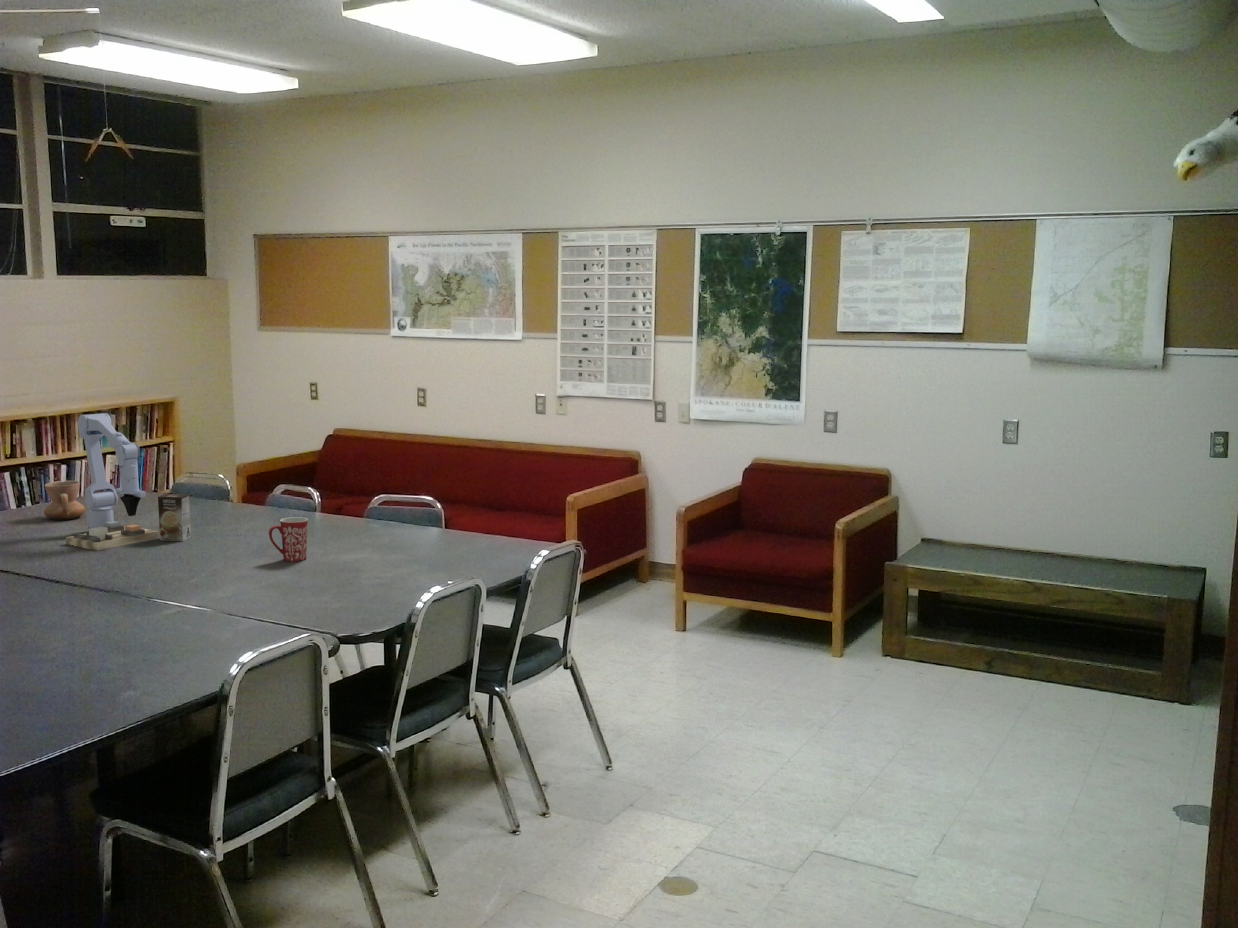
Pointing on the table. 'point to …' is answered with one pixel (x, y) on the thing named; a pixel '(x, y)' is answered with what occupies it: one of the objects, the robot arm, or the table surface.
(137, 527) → the terracotta button
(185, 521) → the coffee box
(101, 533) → the slider knob
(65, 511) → the ceramic jug
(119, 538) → the control panel
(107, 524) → the grey button
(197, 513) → the table surface
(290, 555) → the mug
